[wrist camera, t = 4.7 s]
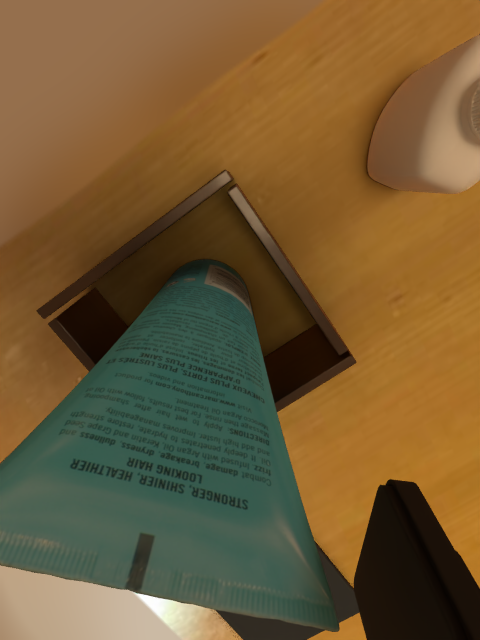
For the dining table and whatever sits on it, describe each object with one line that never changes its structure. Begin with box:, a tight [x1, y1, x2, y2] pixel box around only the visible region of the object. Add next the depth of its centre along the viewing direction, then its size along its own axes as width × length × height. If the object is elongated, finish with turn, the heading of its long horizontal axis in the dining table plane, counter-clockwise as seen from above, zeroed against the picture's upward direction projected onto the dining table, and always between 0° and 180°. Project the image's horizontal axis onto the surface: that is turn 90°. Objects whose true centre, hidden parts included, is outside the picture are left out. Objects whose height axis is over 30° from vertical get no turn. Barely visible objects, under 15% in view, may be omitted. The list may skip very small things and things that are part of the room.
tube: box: [0, 259, 339, 632], centre depth 17 cm, size 7×5×19 cm, turn 80°
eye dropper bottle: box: [367, 34, 480, 194], centre depth 18 cm, size 4×6×12 cm
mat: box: [216, 542, 359, 640], centre depth 33 cm, size 9×9×1 cm
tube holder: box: [37, 170, 356, 412], centre depth 24 cm, size 10×10×6 cm
